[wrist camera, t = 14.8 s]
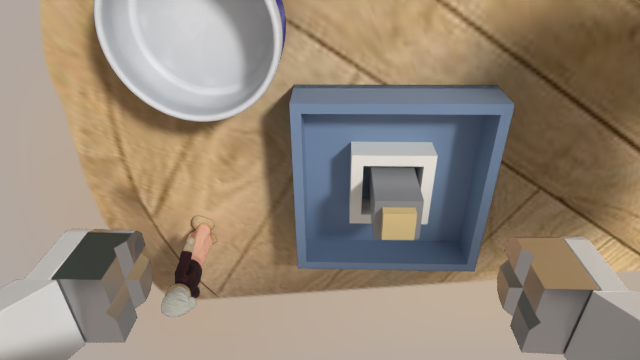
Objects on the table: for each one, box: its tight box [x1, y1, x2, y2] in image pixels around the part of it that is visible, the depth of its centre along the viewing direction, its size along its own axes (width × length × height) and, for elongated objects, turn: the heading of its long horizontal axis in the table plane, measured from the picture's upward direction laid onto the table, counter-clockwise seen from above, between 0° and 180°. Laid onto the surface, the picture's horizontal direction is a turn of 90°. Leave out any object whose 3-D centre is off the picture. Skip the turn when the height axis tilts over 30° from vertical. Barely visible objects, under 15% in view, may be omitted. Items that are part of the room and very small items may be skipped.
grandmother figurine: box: [161, 216, 217, 317], centre depth 48 cm, size 8×4×13 cm, turn 10°
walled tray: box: [289, 85, 515, 271], centre depth 46 cm, size 20×20×5 cm
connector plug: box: [368, 166, 424, 240], centre depth 43 cm, size 4×4×9 cm
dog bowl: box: [94, 0, 286, 122], centre depth 38 cm, size 15×15×6 cm
